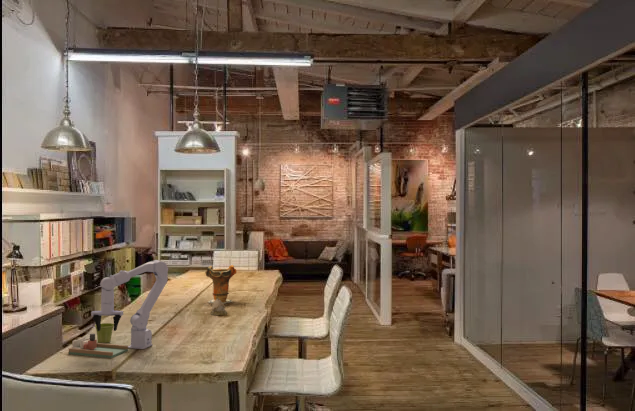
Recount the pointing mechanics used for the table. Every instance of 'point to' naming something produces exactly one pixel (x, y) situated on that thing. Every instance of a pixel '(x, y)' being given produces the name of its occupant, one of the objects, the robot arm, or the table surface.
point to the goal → (78, 343)
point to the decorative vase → (220, 282)
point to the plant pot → (105, 332)
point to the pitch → (101, 350)
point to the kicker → (91, 343)
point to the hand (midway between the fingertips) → (107, 330)
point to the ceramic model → (218, 308)
